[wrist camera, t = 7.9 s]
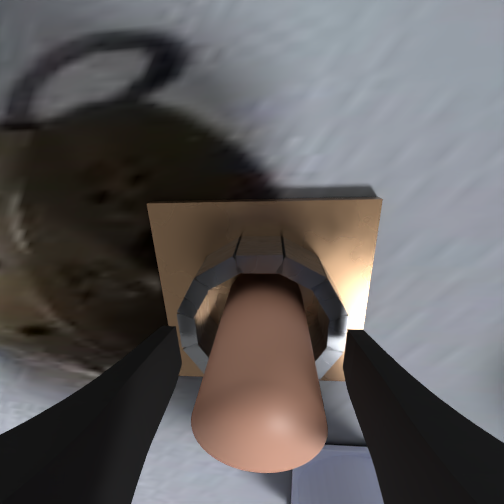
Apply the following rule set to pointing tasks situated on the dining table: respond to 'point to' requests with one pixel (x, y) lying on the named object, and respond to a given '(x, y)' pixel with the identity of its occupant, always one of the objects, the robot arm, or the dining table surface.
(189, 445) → the dining table surface
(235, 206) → the cup bracket
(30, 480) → the robot arm
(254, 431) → the rail post
